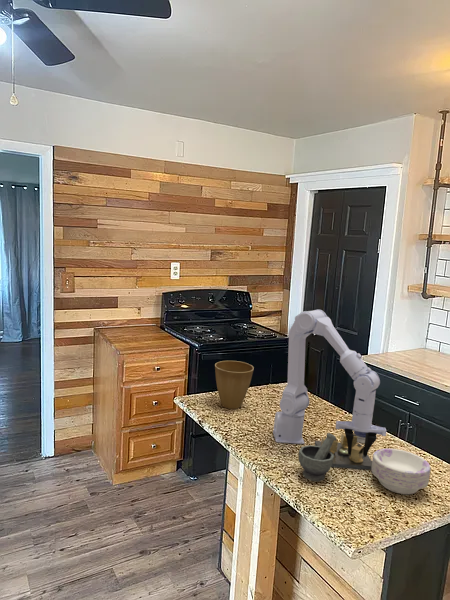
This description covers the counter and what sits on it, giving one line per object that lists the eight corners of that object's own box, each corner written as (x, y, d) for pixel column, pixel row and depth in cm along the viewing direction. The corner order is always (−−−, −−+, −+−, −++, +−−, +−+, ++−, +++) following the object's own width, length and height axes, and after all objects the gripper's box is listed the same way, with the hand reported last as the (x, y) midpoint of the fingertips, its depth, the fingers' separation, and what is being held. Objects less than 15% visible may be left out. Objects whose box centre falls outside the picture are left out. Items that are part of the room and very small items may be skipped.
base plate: (325, 466, 139) (326, 459, 138) (314, 444, 154) (315, 437, 153) (375, 470, 139) (376, 463, 139) (359, 447, 154) (360, 440, 154)
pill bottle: (370, 444, 157) (373, 417, 156) (353, 442, 158) (357, 414, 157) (368, 438, 162) (372, 411, 161) (352, 435, 163) (356, 409, 162)
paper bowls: (376, 466, 142) (380, 442, 141) (430, 484, 134) (434, 458, 133) (363, 487, 129) (367, 460, 128) (422, 508, 121) (426, 479, 120)
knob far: (342, 449, 149) (344, 436, 148) (339, 443, 152) (341, 431, 152) (356, 450, 149) (358, 437, 148) (352, 444, 153) (354, 432, 152)
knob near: (360, 464, 139) (362, 451, 139) (347, 460, 141) (349, 447, 141) (364, 459, 143) (366, 446, 142) (352, 455, 145) (353, 442, 144)
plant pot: (214, 396, 189) (218, 358, 187) (251, 401, 187) (255, 363, 185) (208, 410, 175) (212, 368, 172) (247, 415, 173) (252, 373, 171)
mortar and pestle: (311, 487, 126) (316, 445, 125) (289, 471, 134) (294, 431, 132) (341, 479, 132) (347, 439, 130) (319, 464, 140) (323, 426, 138)
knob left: (322, 454, 144) (324, 441, 143) (319, 448, 148) (321, 435, 147) (337, 455, 144) (338, 442, 144) (333, 449, 148) (335, 436, 148)
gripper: (385, 410, 143) (379, 452, 145) (337, 403, 145) (331, 444, 147) (390, 418, 136) (383, 462, 138) (339, 411, 138) (333, 454, 140)
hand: (357, 454), depth 142 cm, fingers closed on knob near, 4 cm apart
